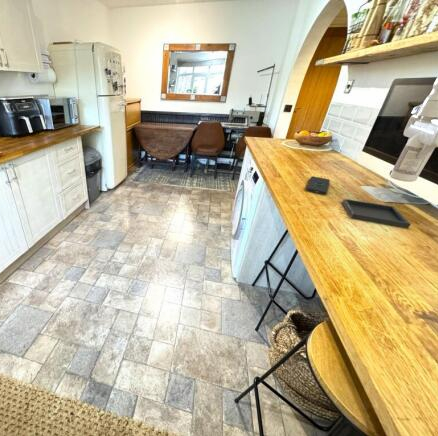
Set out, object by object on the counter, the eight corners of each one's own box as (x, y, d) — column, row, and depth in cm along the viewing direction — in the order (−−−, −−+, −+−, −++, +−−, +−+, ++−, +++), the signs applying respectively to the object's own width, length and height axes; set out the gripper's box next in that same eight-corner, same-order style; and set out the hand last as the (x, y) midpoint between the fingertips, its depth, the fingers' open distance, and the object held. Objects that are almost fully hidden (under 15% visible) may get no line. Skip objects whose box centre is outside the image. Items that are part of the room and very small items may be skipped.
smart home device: (306, 187, 111) (311, 175, 125) (305, 190, 112) (310, 178, 126) (327, 191, 107) (330, 179, 121) (326, 195, 108) (328, 182, 122)
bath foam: (398, 174, 90) (429, 117, 80) (420, 181, 84) (457, 120, 74) (384, 176, 88) (414, 118, 78) (405, 183, 82) (441, 121, 72)
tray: (391, 210, 96) (393, 206, 95) (407, 228, 84) (411, 223, 83) (341, 202, 101) (343, 198, 100) (351, 218, 90) (353, 213, 89)
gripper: (475, 115, 66) (443, 164, 73) (435, 108, 82) (411, 149, 89) (444, 113, 68) (416, 161, 75) (411, 107, 84) (390, 147, 91)
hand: (413, 154), depth 82 cm, fingers closed on bath foam, 7 cm apart
